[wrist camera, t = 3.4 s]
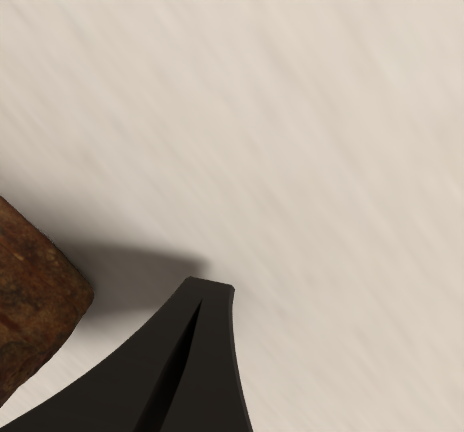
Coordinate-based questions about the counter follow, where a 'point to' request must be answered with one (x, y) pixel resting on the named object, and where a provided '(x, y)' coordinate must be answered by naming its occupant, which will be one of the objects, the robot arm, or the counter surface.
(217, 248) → the counter surface
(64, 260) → the brick
